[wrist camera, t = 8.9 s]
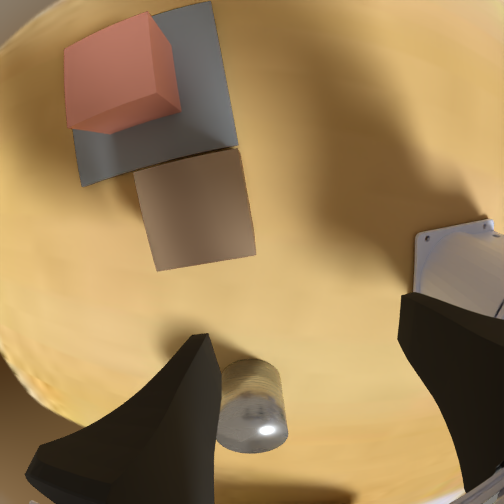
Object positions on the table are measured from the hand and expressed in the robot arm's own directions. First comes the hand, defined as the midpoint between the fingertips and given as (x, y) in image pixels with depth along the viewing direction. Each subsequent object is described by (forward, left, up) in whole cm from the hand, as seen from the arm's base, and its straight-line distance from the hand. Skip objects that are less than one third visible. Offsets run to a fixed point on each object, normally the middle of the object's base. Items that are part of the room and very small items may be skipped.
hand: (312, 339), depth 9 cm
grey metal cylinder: (+4, +10, -9) cm, 15 cm away
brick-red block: (+7, -13, -9) cm, 17 cm away
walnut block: (+4, -5, -10) cm, 11 cm away
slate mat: (+7, -13, -9) cm, 18 cm away
